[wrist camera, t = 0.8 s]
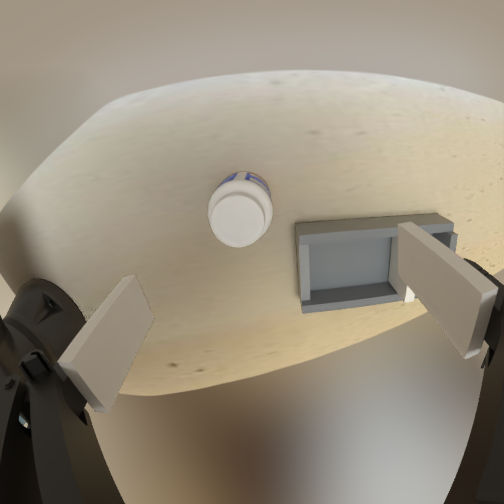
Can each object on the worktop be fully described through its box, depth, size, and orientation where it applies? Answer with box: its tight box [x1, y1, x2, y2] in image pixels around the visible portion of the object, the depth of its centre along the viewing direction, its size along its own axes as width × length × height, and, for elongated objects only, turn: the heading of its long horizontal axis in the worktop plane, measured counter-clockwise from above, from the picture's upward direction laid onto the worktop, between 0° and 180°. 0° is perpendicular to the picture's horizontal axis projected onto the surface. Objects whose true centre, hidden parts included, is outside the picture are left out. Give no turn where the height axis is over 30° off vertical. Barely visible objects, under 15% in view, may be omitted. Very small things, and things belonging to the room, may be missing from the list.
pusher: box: [388, 236, 415, 303], centre depth 28 cm, size 5×6×5 cm
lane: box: [295, 214, 458, 314], centre depth 29 cm, size 18×9×5 cm, turn 96°
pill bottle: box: [207, 172, 273, 247], centre depth 25 cm, size 5×5×10 cm
